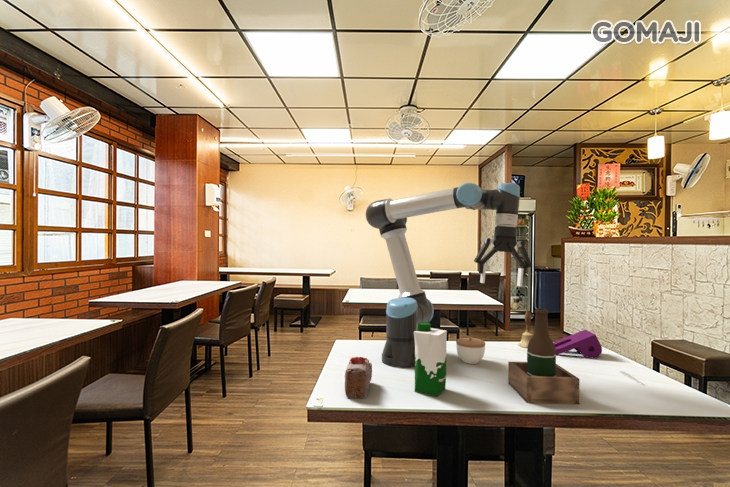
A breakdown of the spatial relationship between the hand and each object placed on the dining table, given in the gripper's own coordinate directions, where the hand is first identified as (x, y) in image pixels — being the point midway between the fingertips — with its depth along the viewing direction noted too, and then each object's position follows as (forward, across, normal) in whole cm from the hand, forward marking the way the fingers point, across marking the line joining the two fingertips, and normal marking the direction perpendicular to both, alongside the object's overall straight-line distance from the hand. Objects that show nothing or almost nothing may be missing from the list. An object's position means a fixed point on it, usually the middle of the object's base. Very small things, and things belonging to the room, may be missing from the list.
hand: (500, 284), depth 131 cm
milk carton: (+32, -27, -22) cm, 47 cm away
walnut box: (+29, +6, -23) cm, 38 cm away
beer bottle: (+28, +6, -23) cm, 37 cm away
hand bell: (+29, +26, +30) cm, 49 cm away
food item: (+34, -49, -21) cm, 63 cm away
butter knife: (+27, +42, -17) cm, 53 cm away
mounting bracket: (+28, +39, +18) cm, 51 cm away
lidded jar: (+31, -6, +7) cm, 32 cm away
